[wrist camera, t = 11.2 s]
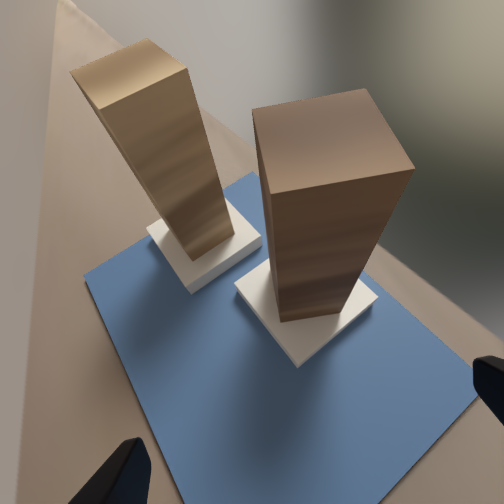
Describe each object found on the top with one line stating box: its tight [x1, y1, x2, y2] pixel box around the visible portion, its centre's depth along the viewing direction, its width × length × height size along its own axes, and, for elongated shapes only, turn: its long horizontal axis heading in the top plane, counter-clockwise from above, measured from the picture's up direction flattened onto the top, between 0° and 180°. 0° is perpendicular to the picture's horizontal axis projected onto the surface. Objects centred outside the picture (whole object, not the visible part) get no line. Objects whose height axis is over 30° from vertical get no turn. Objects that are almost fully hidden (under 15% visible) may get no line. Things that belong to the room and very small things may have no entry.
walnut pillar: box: [252, 88, 415, 323], centre depth 14 cm, size 4×4×12 cm
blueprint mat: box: [84, 171, 478, 504], centre depth 20 cm, size 24×18×2 cm
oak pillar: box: [70, 38, 235, 262], centre depth 18 cm, size 4×4×12 cm
